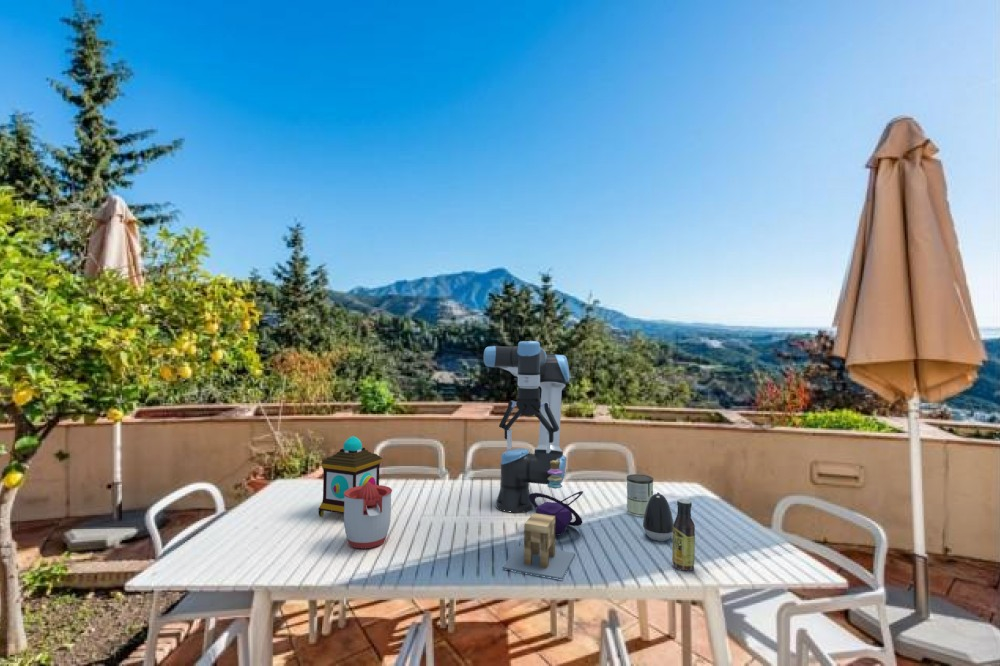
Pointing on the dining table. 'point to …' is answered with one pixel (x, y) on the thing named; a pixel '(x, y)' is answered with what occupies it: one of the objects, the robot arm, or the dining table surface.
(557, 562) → the slate mat
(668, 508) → the black egg shape
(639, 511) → the coffee can
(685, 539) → the sauce bottle
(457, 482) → the dining table surface
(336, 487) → the decorative lantern
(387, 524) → the citrus juicer
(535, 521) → the notched wooden block
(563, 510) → the ringed planet sculpture
